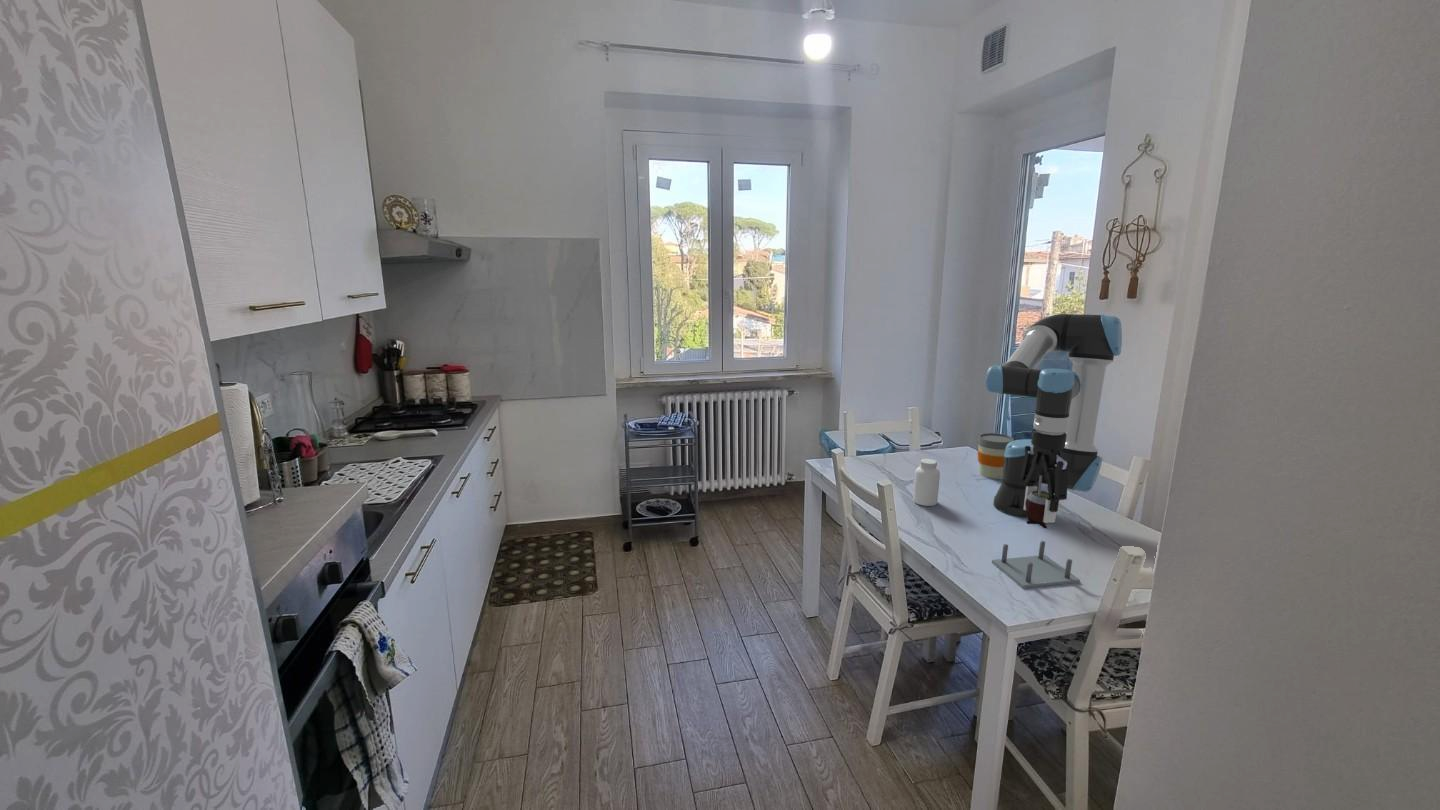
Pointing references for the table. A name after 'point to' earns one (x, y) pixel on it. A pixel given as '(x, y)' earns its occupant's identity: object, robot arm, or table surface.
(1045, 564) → the tray
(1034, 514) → the mate gourd
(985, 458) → the reusable coffee cup
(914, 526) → the table surface
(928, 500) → the pill bottle
